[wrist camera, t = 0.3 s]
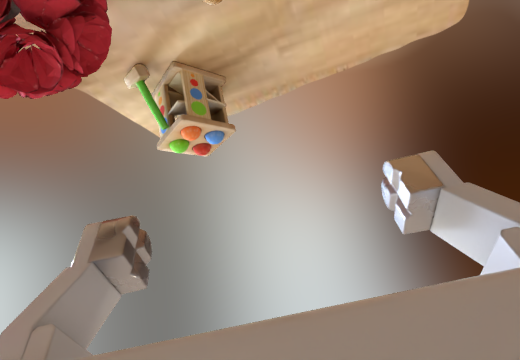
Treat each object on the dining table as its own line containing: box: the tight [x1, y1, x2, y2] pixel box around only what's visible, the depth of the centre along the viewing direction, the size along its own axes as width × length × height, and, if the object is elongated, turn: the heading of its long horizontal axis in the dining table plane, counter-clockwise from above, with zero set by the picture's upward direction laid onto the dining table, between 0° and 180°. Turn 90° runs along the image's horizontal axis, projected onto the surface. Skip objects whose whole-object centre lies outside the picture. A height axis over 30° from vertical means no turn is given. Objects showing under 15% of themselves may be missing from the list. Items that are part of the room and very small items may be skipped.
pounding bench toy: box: [124, 62, 236, 156], centre depth 81 cm, size 23×14×18 cm, turn 52°
